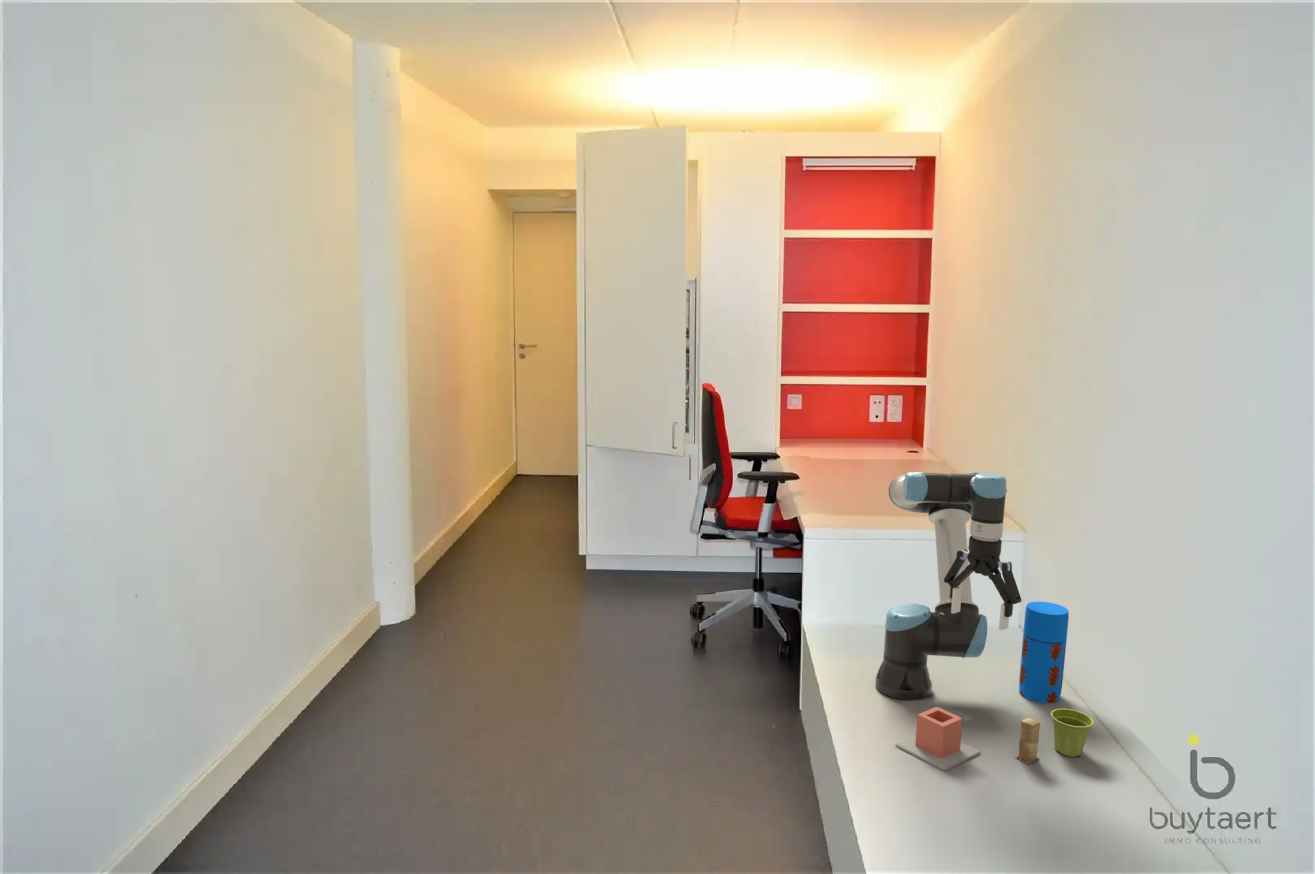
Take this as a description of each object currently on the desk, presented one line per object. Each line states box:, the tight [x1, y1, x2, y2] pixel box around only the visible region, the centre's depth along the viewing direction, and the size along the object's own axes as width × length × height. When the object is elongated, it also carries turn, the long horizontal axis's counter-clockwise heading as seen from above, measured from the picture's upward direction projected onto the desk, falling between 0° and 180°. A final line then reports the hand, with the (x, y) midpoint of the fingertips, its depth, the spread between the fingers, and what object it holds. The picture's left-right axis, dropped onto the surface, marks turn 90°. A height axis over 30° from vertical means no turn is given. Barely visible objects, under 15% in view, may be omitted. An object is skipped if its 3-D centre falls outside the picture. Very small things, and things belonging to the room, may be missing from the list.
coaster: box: [895, 734, 981, 772], centre depth 222 cm, size 14×14×1 cm
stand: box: [1015, 717, 1041, 765], centre depth 218 cm, size 4×4×10 cm
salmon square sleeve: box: [915, 706, 964, 758], centre depth 221 cm, size 7×7×8 cm
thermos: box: [1018, 600, 1070, 704], centre depth 251 cm, size 11×11×25 cm
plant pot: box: [1050, 708, 1094, 758], centre depth 222 cm, size 9×9×9 cm
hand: (978, 620), depth 228 cm, fingers open, 13 cm apart
